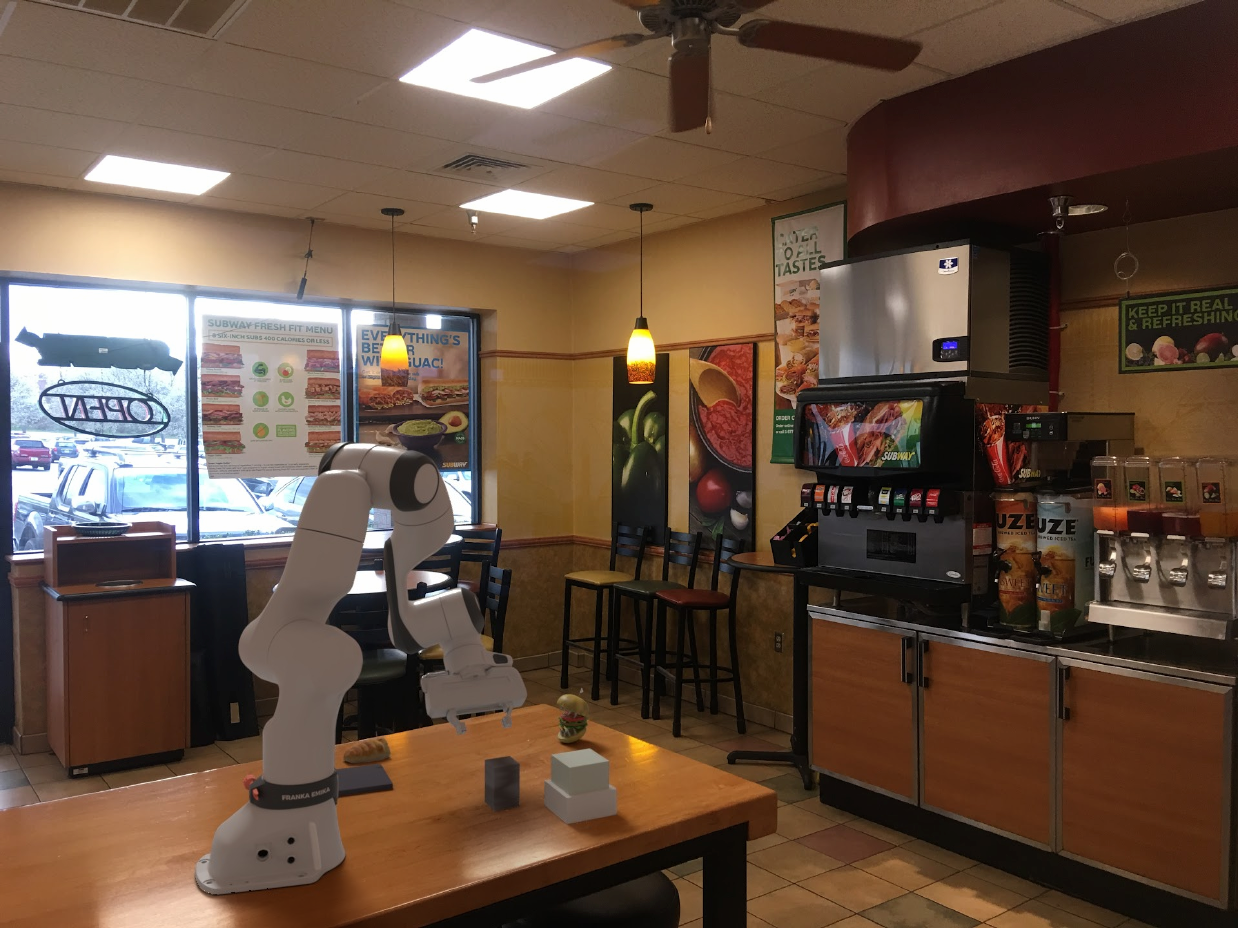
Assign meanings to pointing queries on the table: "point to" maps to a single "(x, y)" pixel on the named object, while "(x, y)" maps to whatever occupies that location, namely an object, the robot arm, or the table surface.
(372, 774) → the notebook
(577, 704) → the hamburger
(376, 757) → the pastry
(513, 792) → the charcoal block
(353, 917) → the table surface
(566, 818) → the tower base
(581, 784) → the tower top
